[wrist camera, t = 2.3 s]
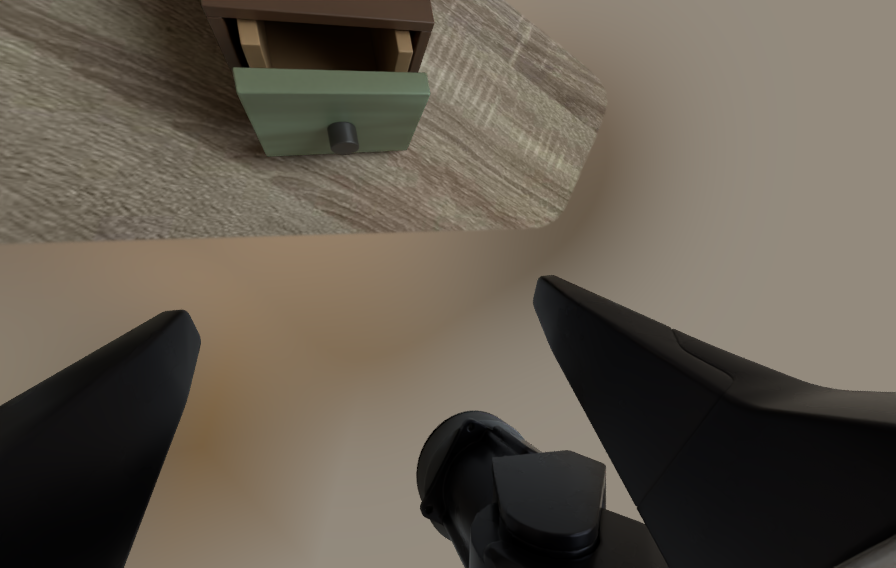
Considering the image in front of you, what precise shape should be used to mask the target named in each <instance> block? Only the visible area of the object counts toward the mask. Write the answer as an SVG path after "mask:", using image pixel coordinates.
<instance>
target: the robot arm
mask: <svg viewBox="0 0 896 568" xmlns="http://www.w3.org/2000/svg"><path fill="white" fill-rule="evenodd" d="M533 305H534V308H535V311H536V313H537V316H538V318H539V321H540V323H541V326H542V328H543V331H544V333H545V335H546V338H547V341H548V343H549V345H550V348H551V349H552V352H553V354H554V355H555V358H556V359H557V361H558V363H559V365H560V367H561V369H562V371H563V372H564V374H565V376H566V378H567V380H568V381H569V384H570V385H571V387H572V389H573V391H574V393H575V395H576V397H577V398H578V400H579V402H580V404H581V406H582V407H583V409H584V411H585V413H586V415H587V417H588V419H589V420H590V422H591V424H592V426H593V428H594V430H595V432H596V433H597V435H598V437H599V439H600V441H601V443H602V445H603V446H604V448H605V450H606V452H607V454H608V456H609V458H610V459H611V461H612V463H613V465H614V467H615V469H616V470H617V472H618V474H619V476H620V478H621V479H622V481H623V483H624V485H625V487H626V489H627V491H628V493H629V495H630V496H631V498H632V500H633V502H634V504H635V505H636V506H638V507H637V510H638V511H639V513H640V515H641V517H642V519H643V521H644V523H645V524H643V523H641V522H639V521H636V520H633V519H630V518H628V517H625V516H622V515H620V514H617V513H614V512H612V511H609V510H606V466H605V465H604V464H603V463H601V462H598V461H596V460H593V459H591V458H588V457H585V456H583V455H580V454H578V453H575V452H572V451H568V450H565V451H556V452H555V451H554V452H545V453H542V452H541V451H540V450H538V449H537V448H535V447H534V446H532V445H531V444H530V443H528V442H527V441H525V440H524V439H522V438H520V437H518V436H517V435H515V434H513V433H511V432H509V431H508V430H506V429H504V428H502V427H501V426H499V425H497V426H494V427H493V429H491V428H489V427H487V426H485V425H483V424H482V423H480V422H478V421H476V420H475V419H473V418H466V419H465V420H464V421H463V423H462V425H461V427H460V429H459V430H458V432H457V434H456V436H455V438H454V440H453V442H452V444H451V446H450V448H449V450H448V452H447V454H446V456H445V458H444V460H443V462H442V463H441V465H440V467H439V469H438V471H437V473H436V475H435V477H434V479H433V481H432V483H431V485H430V487H429V489H428V491H427V493H426V495H425V496H424V498H423V500H422V502H421V505H420V510H421V512H422V514H423V516H424V517H426V518H428V519H430V520H432V521H434V522H436V523H439V524H441V525H443V526H445V528H446V530H447V532H448V534H449V536H450V539H451V541H452V542H453V545H454V547H455V549H456V551H457V553H458V555H459V557H460V559H461V561H462V563H463V565H464V567H465V568H896V392H871V391H849V390H838V389H832V388H827V387H822V386H818V385H814V384H810V383H807V382H804V381H802V380H799V379H796V378H794V377H791V376H788V375H786V374H783V373H781V372H778V371H776V370H773V369H770V368H768V367H765V366H763V365H760V364H758V363H755V362H752V361H750V360H747V359H745V358H742V357H740V356H737V355H735V354H732V353H730V352H727V351H725V350H722V349H720V348H717V347H715V346H712V345H710V344H708V343H705V342H703V341H700V340H698V339H696V338H694V337H691V336H689V335H687V334H684V333H682V332H680V331H678V330H676V329H671V328H670V327H669V326H666V325H664V324H662V323H660V322H657V321H655V320H653V319H650V318H648V317H646V316H644V315H642V314H639V313H637V312H635V311H633V310H631V309H628V308H626V307H624V306H622V305H619V304H617V303H615V302H613V301H610V300H608V299H606V298H604V297H601V296H599V295H597V294H595V293H592V292H590V291H588V290H586V289H583V288H581V287H579V286H577V285H575V284H572V283H570V282H568V281H566V280H563V279H561V278H559V277H557V276H554V275H548V276H541V277H540V278H539V279H538V281H537V285H536V289H535V294H534V298H533ZM200 345H201V339H200V335H199V333H198V331H197V329H196V327H195V325H194V323H193V321H192V319H191V317H190V315H189V313H188V312H187V311H185V310H173V311H165V312H162V313H160V314H158V315H157V316H155V317H153V318H152V319H150V320H148V321H147V322H145V323H143V324H141V325H139V326H138V327H136V328H134V329H132V330H131V331H129V332H127V333H126V334H124V335H122V336H120V337H119V338H117V339H115V340H114V341H112V342H110V343H108V344H107V345H105V346H103V347H101V348H100V349H98V350H96V351H94V352H93V353H91V354H89V355H88V356H86V357H84V358H82V359H81V360H79V361H77V362H75V363H74V364H72V365H70V366H68V367H67V368H65V369H63V370H62V371H60V372H58V373H56V374H55V375H53V376H51V377H49V378H48V379H46V380H44V381H43V382H41V383H39V384H37V385H36V386H34V387H32V388H30V389H29V390H27V391H25V392H24V393H22V394H20V395H18V396H16V397H15V398H13V399H11V400H10V401H8V402H6V403H4V404H3V405H1V406H0V568H124V566H125V563H126V560H127V558H128V555H129V552H130V550H131V547H132V545H133V542H134V539H135V537H136V534H137V532H138V529H139V526H140V524H141V521H142V519H143V516H144V513H145V510H146V508H147V505H148V503H149V500H150V497H151V495H152V492H153V490H154V487H155V484H156V482H157V479H158V476H159V474H160V471H161V468H162V466H163V463H164V461H165V458H166V455H167V453H168V450H169V447H170V445H171V442H172V440H173V437H174V434H175V432H176V429H177V426H178V424H179V421H180V418H181V416H182V413H183V410H184V408H185V405H186V402H187V398H188V394H189V391H190V386H191V382H192V378H193V374H194V370H195V366H196V362H197V357H198V353H199V349H200ZM470 423H472V427H471V429H468V428H467V427H468V425H469V424H470ZM428 505H432V506H431V508H430V509H429V510H425V509H426V507H427V506H428Z"/></svg>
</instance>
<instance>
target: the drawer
mask: <svg viewBox="0 0 896 568" xmlns="http://www.w3.org/2000/svg"><path fill="white" fill-rule="evenodd" d="M236 20H237V26H238V32H239V37H240V43H241V46H242V49H243V52H244V54H245V57H246V60H247V62H248V65H249V68H241V67H233V69H232V71H233V76H234V82H235V88H236V93H237V95H238V97H239V99H240V101H241V103H242V105H243V107H244V109H245V112H246V114H247V116H248V118H249V120H250V122H251V124H252V126H253V129H254V131H255V133H256V135H257V137H258V139H259V141H260V143H261V145H262V148H263V150H264V152H265V154H266V156H290V155H312V154H334V153H336V154H341V155H346V154H352V153H356V152H378V151H400V150H407V148H408V146H409V144H410V141H411V139H412V136H413V134H414V132H415V129H416V127H417V125H418V122H419V120H420V118H421V115H422V113H423V110H424V108H425V106H426V103H427V101H428V99H429V96H430V89H429V84H428V78H427V74H426V73H416V72H407V71H408V68H409V64H410V61H411V57H412V54H413V49H412V44H411V39H410V33H409V30H399V29H384V28H370V27H355V26H341V25H326V24H312V23H297V22H282V21H268V20H253V19H239V18H236Z"/></svg>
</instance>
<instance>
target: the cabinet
mask: <svg viewBox="0 0 896 568" xmlns="http://www.w3.org/2000/svg"><path fill="white" fill-rule="evenodd" d="M200 2H201V6H202V8H203V11H204V13H205V15H206V17H207V19H208V22H209V24H210V26H211V28H212V30H213V33H214V35H215V37H216V39H217V41H218V44H219V46H220V48H221V50H222V52H223V55H224V57H225V59H226V61H227V64H228V66H229V68H230V70H231V72H232V75H233V71H232V69H233V67H241V68H249V65H248V62H247V60H246V57H245V54H244V52H243V49H242V46H241V43H240V37H239V32H238V26H237V20H236V18H239V19H253V20H268V21H282V22H297V23H312V24H326V25H341V26H355V27H370V28H384V29H399V30H409V33H410V39H411V44H412V49H413V54H412V57H411V61H410V64H409V68H408V71H407V72H416V73H418V71H419V68H420V65H421V62H422V59H423V56H424V53H425V50H426V47H427V44H428V41H429V38H430V35H431V31H432V29H433V26H434V18H433V13H432V7H431V2H430V0H200ZM233 77H234V76H233Z"/></svg>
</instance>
